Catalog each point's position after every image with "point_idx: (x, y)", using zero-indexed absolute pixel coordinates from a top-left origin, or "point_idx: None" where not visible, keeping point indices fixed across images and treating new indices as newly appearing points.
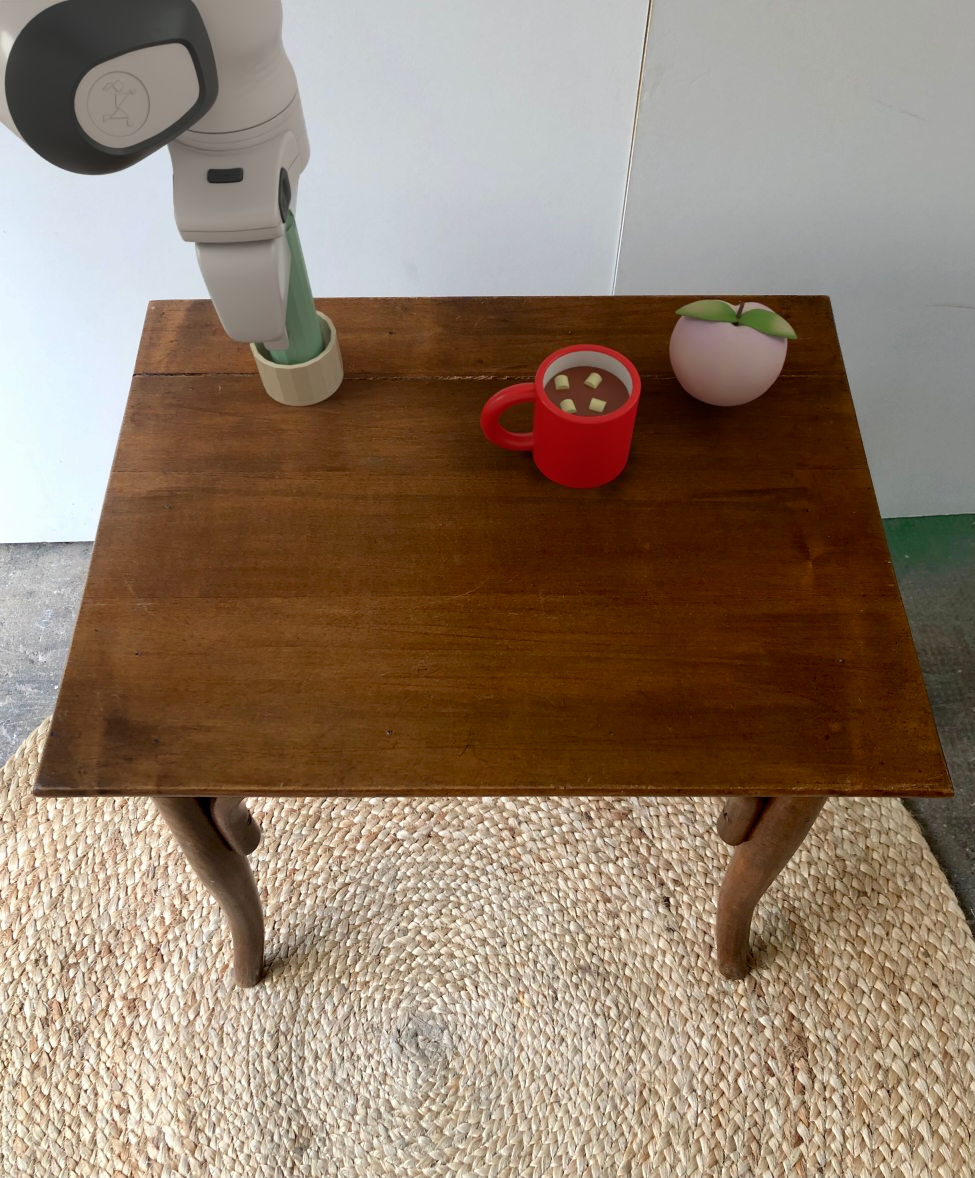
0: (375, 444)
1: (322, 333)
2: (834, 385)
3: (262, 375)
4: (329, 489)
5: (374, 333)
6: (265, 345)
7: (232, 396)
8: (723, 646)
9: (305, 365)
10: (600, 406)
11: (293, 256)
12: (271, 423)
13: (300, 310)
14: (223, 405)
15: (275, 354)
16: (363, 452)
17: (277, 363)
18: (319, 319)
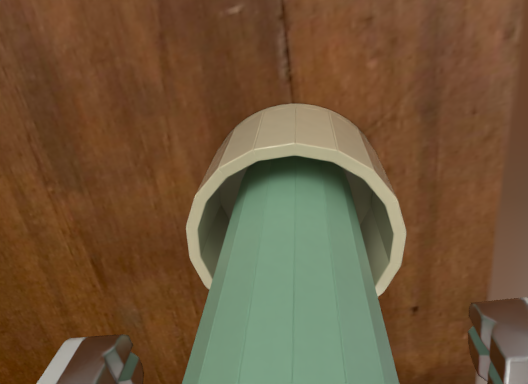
0: (163, 314)
1: (366, 249)
2: None
3: (221, 152)
4: (59, 268)
5: (415, 285)
6: (59, 351)
7: (215, 48)
8: None
9: (207, 285)
10: None
11: None
12: (162, 151)
13: None
14: (185, 35)
15: (234, 214)
16: (143, 301)
17: (240, 195)
18: (372, 276)
